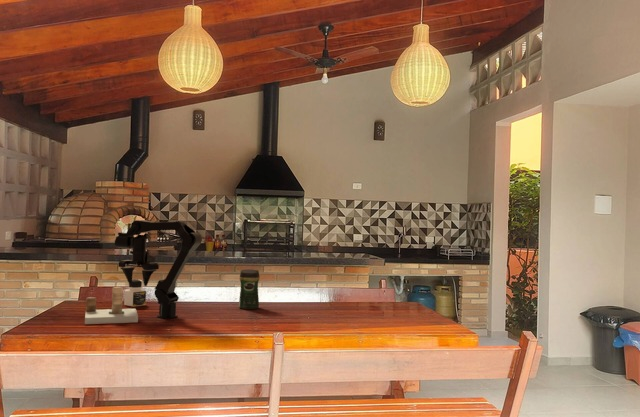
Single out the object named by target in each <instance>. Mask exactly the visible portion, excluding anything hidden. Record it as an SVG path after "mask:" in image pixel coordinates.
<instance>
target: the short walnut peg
mask: <svg viewBox="0 0 640 417" xmlns="http://www.w3.org/2000/svg"><path fill="white" fill-rule="evenodd" d="M96 310H97V297H96V296H95V297H94V296H89V297H86V298H85V313H86V312H95V311H96Z"/></svg>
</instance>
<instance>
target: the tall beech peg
mask: <svg viewBox="0 0 640 417" xmlns="http://www.w3.org/2000/svg"><path fill="white" fill-rule="evenodd" d="M123 288H124V287H122V286H115V287H112V291H111V292H112V293H111V294H112V296H111V301H112V302H111V309H112V314H122V309H123V298H124V297H123V295H124V294H123V293H124V292H123V290H124V289H123Z"/></svg>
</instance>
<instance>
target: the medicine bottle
mask: <svg viewBox="0 0 640 417" xmlns="http://www.w3.org/2000/svg"><path fill="white" fill-rule="evenodd" d="M123 298H124V302H123V303H124V306H128V307H134V308H136V307H142V306H146V302H147V301H146V300H147V290H146V289H143V279H142V280H141V279H132V283H131V284H129V283H128V289H124V297H123Z"/></svg>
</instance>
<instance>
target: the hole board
mask: <svg viewBox="0 0 640 417" xmlns="http://www.w3.org/2000/svg"><path fill="white" fill-rule="evenodd" d="M138 322H139V315H138V311H137V309H136V308H122V314H112V308H111V309H110V308H107V309H96V311H95V312H86V311H85V316H84V325H96V324H97V325H98V324H99V325H101V324H104V325H105V324H125V323H128V324H129V323H138Z"/></svg>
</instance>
